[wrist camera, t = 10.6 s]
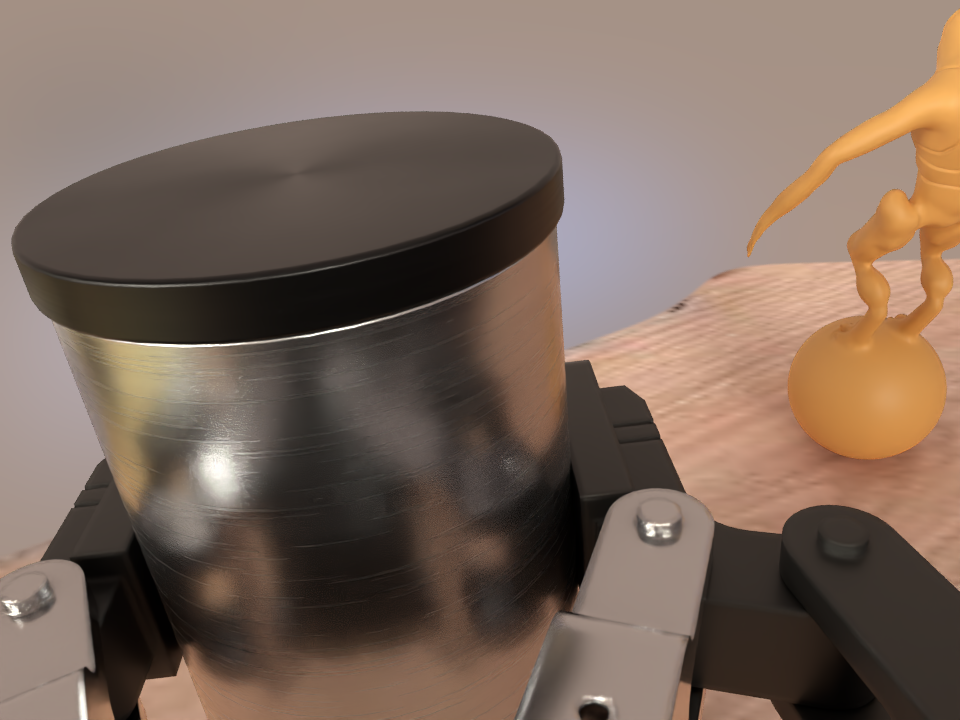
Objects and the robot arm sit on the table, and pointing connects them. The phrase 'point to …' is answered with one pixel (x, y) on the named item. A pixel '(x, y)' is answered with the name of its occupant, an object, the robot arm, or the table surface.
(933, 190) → the figurine
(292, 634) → the canister
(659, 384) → the table surface
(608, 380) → the table surface
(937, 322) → the table surface
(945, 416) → the table surface
